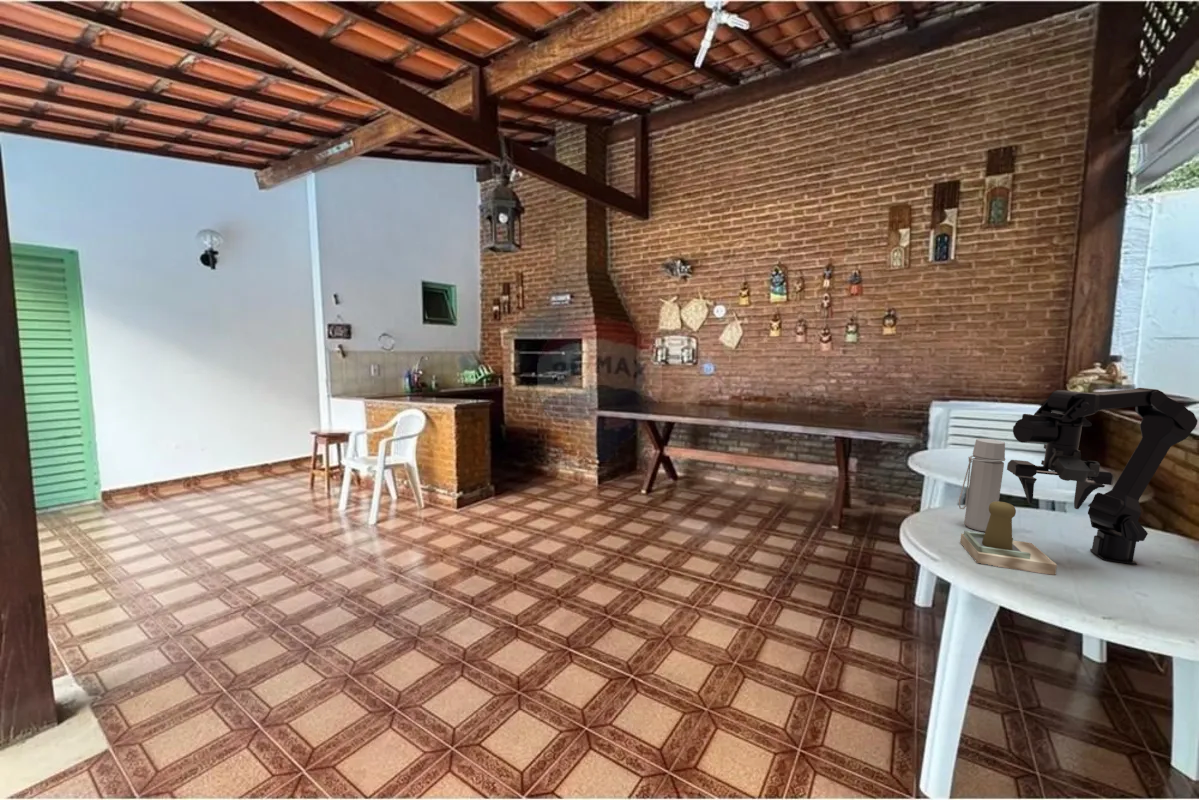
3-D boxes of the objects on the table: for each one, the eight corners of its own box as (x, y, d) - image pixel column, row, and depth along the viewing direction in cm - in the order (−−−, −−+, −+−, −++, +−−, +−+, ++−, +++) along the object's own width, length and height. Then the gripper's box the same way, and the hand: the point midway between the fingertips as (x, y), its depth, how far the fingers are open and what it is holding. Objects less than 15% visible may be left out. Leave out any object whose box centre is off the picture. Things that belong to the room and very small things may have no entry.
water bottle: (989, 525, 148) (1001, 439, 144) (1000, 535, 140) (1012, 445, 137) (951, 520, 151) (962, 436, 147) (960, 529, 143) (972, 441, 140)
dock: (1029, 552, 130) (1032, 538, 129) (1055, 575, 118) (1057, 559, 117) (960, 542, 135) (961, 529, 134) (977, 563, 122) (979, 548, 122)
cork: (1015, 553, 122) (1021, 508, 121) (983, 547, 125) (989, 504, 123) (1009, 544, 127) (1015, 501, 126) (979, 539, 130) (985, 497, 129)
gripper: (1030, 446, 119) (1020, 511, 121) (1133, 455, 113) (1121, 523, 115) (1010, 437, 129) (1001, 497, 132) (1104, 444, 123) (1093, 507, 125)
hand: (1052, 506), depth 126 cm, fingers open, 9 cm apart
